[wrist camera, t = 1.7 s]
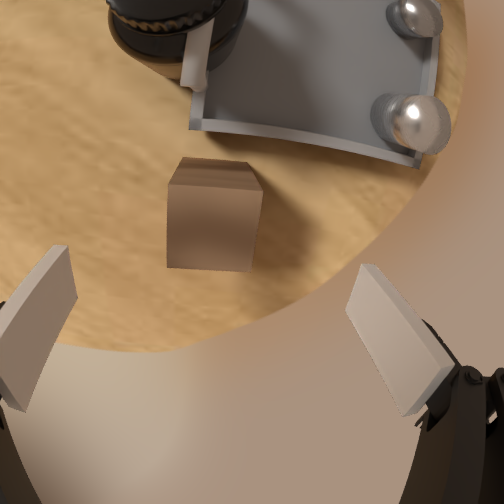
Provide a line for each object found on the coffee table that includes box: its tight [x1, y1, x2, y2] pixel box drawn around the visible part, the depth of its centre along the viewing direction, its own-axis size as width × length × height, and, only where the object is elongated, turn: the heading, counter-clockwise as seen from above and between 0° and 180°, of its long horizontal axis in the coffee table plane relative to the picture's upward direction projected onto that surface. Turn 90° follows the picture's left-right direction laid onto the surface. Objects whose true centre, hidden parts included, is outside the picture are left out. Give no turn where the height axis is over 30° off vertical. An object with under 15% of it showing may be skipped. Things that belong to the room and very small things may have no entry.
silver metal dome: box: [386, 0, 443, 40], centre depth 14 cm, size 4×4×3 cm
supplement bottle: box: [106, 0, 249, 80], centre depth 11 cm, size 7×7×12 cm
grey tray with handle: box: [180, 0, 441, 169], centre depth 14 cm, size 16×18×10 cm
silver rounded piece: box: [370, 93, 451, 155], centre depth 17 cm, size 4×4×5 cm
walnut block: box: [167, 157, 264, 272], centre depth 20 cm, size 5×5×8 cm
